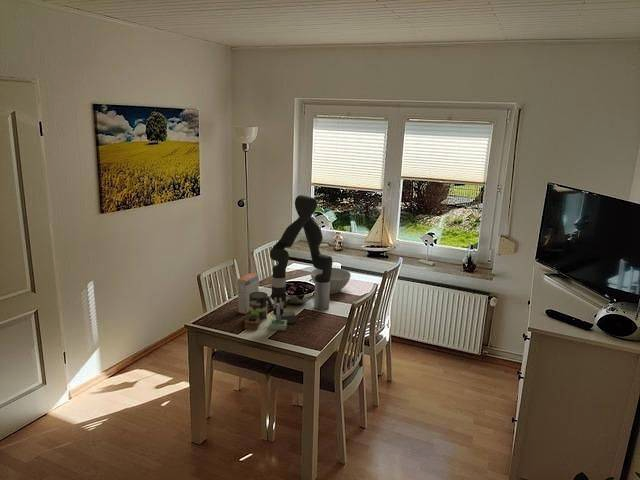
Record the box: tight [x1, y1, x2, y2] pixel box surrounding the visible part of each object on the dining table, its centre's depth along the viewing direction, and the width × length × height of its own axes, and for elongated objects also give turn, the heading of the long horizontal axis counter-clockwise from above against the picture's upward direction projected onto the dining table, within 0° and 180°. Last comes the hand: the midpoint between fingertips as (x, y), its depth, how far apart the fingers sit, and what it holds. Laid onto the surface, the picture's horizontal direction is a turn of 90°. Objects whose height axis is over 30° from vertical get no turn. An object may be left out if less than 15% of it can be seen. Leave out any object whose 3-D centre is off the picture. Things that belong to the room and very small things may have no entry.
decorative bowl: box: [310, 267, 351, 295], centre depth 311 cm, size 27×27×12 cm
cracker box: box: [237, 272, 260, 315], centre depth 273 cm, size 14×6×21 cm, turn 155°
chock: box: [281, 310, 297, 324], centre depth 262 cm, size 6×8×4 cm
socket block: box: [244, 316, 261, 331], centre depth 253 cm, size 7×7×4 cm
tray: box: [268, 318, 288, 331], centre depth 253 cm, size 7×9×3 cm
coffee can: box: [248, 291, 269, 322], centre depth 263 cm, size 10×10×14 cm
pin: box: [275, 304, 281, 322], centre depth 251 cm, size 3×3×9 cm
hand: (278, 314), depth 252 cm, fingers closed on pin, 2 cm apart
